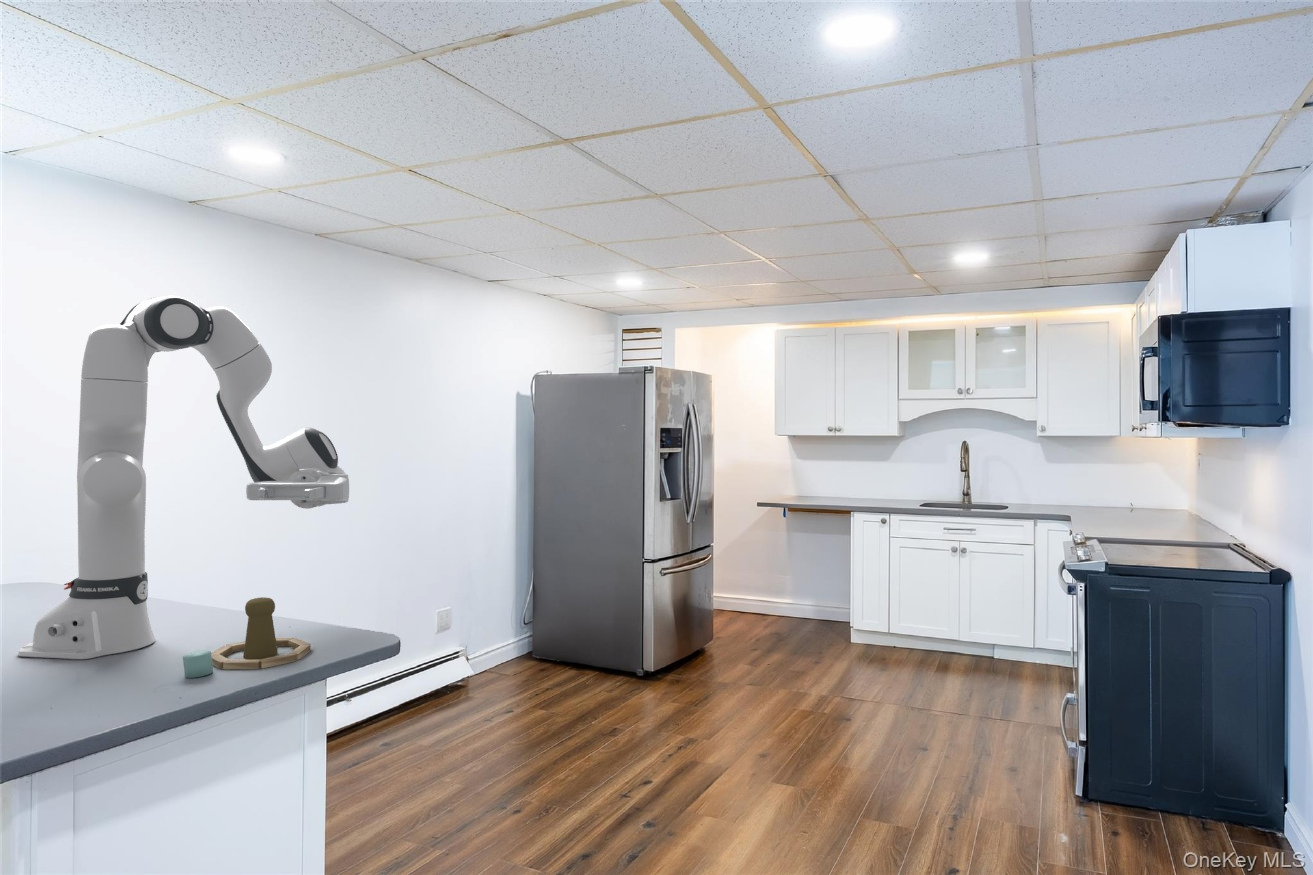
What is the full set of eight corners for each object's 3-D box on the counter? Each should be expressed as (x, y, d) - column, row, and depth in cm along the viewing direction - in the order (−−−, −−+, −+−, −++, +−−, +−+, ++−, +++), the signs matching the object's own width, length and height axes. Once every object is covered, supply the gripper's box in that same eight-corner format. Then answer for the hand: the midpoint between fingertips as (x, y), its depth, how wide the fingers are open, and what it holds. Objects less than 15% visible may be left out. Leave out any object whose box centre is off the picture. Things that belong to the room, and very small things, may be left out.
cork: (263, 661, 153) (262, 602, 153) (235, 658, 155) (235, 601, 154) (285, 652, 159) (284, 595, 159) (258, 649, 161) (257, 594, 160)
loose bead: (202, 677, 143) (200, 657, 143) (179, 678, 143) (177, 659, 143) (218, 669, 147) (216, 649, 147) (195, 670, 148) (193, 651, 147)
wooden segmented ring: (193, 669, 148) (193, 663, 148) (235, 644, 164) (235, 638, 164) (287, 668, 149) (287, 662, 149) (320, 643, 165) (320, 637, 165)
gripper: (261, 474, 181) (232, 478, 167) (355, 474, 182) (334, 478, 168) (261, 502, 181) (232, 509, 167) (355, 502, 182) (334, 509, 168)
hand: (284, 494), depth 168 cm, fingers open, 8 cm apart
